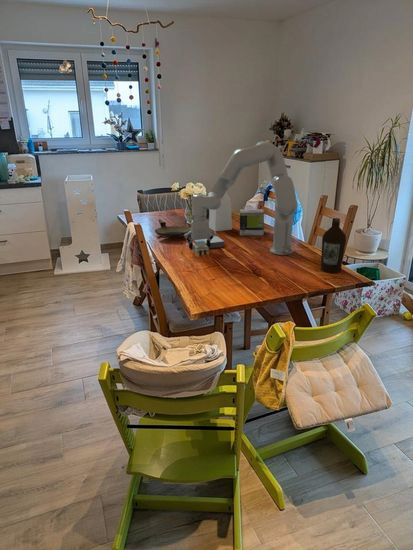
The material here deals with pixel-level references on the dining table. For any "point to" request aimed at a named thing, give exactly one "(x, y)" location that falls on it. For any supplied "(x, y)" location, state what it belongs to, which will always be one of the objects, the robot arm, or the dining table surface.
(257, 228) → the tea box
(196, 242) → the tote
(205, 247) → the pallet
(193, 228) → the robot arm
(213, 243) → the dock
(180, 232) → the oil lamp
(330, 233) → the olive oil
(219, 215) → the milk
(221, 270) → the dining table surface
